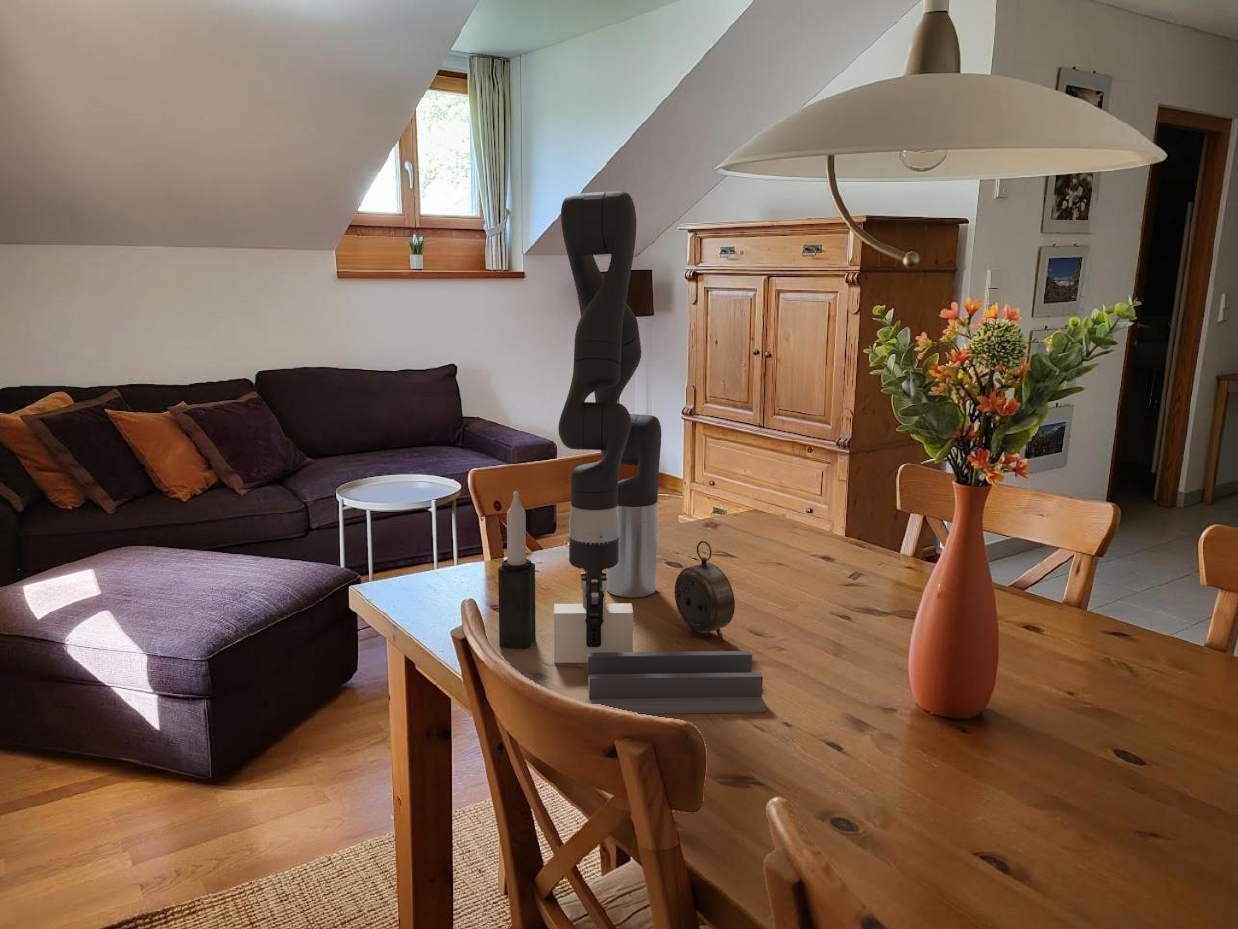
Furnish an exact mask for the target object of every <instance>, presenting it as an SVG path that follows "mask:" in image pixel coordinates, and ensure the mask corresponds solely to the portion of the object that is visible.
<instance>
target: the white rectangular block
mask: <svg viewBox="0 0 1238 929" xmlns="http://www.w3.org/2000/svg"><path fill="white" fill-rule="evenodd" d="M553 605H554V606H553V663H555V664H556V663H557V664H558V663H563V664H565V663H567V664H569V663H574V664H575V663H577V664H578V663H588V653H597V652H634V651H633V649H634V648H633V646H634V640H633V639H634V610H633V604H632V603H630V602H629V603H626V602H624V603H622V602H621V603H620V602H619V603H616V602H614V603H605V608H604V609H603V624H601V645H600V646H599V647H588V646H587V645H586V622H585V618H586V609H584V608H583V603H554V604H553ZM590 616H599V613H591V614H590Z"/></svg>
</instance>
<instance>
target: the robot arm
mask: <svg viewBox="0 0 1238 929" xmlns="http://www.w3.org/2000/svg"><path fill="white" fill-rule="evenodd" d="M560 223H561V224H560V225H561V231H562V236H563V242H564V245H565V249H566V253H567V258H568V261H569V264H570V270H571V273H572V274H571V275H572V276H573V282H574V285H575V290H576V294H577V299H578V306H579V312H580V318H579V321H578V323H577V327H576V331H575V333H574V349H573V369H572V377H571V384H570V387H569V390H568V394H567V397H566V399H565V403H564V405H563V409H562V411H561V414H560V418H559V421H558V436H559V438H560V441H561V442H562V444H563V445H564V446H565V447H566V448H568V449H571V450H581V451H582V450H583V451H584V450H587V451H600V453H601V455H602V458H601V459H600V460H597V461H594V462H589V463H584V464H580V465H577V466H575V467H574V468H573V469H572V472H571V477H570V488H571V489H570V492H571V493H570V512H569V517H568V518H569V521H568V522H569V524H568V531H569V532H568V534H569V535H568V545H569V546H568V561H569V563H570V565H571V566H573V567H574V568H577V569H580V570H581V569H583V571H584V572H580V589H581V598H582V604H583V608H584V609H586V618H585V622H586V645H587V646H588V647H599V646H600V645H601V624H603V609H604V608H605V604H606V591H607V592H608V593H609V594H611V595H614V596H616V597H621V598H643V597H647V596H650V595H652V594H654V593H656V586H657V585H656V584H657V546H658V544H657V543H658V542H657V541H658V540H657V538H658V535H657V534H658V496H659V495H658V493H659V481H660V480H659V476H660V460H661V448H662V426H661V422H660V420H659V418H658V417H657V416H655V415H649V414H636V413H630V411H628V409H627V408H626V406H625V405H624V404H622V403H620V402H619V399H620V397H621V395H622V394H623V391H624V390H625V387H627V384H629V381H630V380H631V378H633V375H634V374H635V372H636V370H637V369H638V367H639V364H640V362H641V358H642V344H641V336H640V329H639V323H638V320H637V316H636V315H635V313H634V312H633V310H632V308H630V306H629V305H628V304H627V299H628V293H629V286H630V280H631V274H632V266H633V260H634V253H635V247H636V238H637V213H636V208H635V203H634V200H633V198H632V197H631V195H630V193H629V192H626V191H621V190H620V191H619V190H618V191H617V190H616V191H613V190H612V191H601V192H599V191H597V192H596V191H595V192H582V193H580V192H579V193H573V194H569V195H567V196H565V197H564V199H563V201H562V204H561V208H560ZM596 255H598V256H599V255H610V262H609V266H608V269H607V272H606V274H605V277H604V276H603V274H602V272H601V271H600V268H599V267H598V264H597V261H596V259H595V257H594V256H596ZM592 393H594V399H595V401H593V402H590V401H589V402H588V401H587V402H586V400H587V399H588V397H589V396H590V395H591V394H592ZM621 465H624V466H625V465H626V466H638V472H637V473H636V474H635V475H633V476H630V477H629V478H625V479H621V480H619V476H620V468H621ZM604 570H606V572H603V571H604ZM591 613H599V616H590V614H591Z"/></svg>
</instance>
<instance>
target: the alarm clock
mask: <svg viewBox="0 0 1238 929" xmlns="http://www.w3.org/2000/svg"><path fill="white" fill-rule="evenodd" d="M701 544H705V545H706V546H707V547H708V549H709V556H708V557H706V556H704V557H701V554H700V550H699V547H700V545H701ZM712 551H713V550H712V547H711V544H710V543H708V541H705V540H701V541H699V542H698V543H697V545H696V553H697V556H698V557H699V559H700V561H701V563H698V564H696V565H693V566H689V567H685V568H684V569H682V570H681V571H680V572H679V574H678V576H677V578H675V579H676V580H675V583H674V600H675V605H676V607H677V610H678V613H679V614H680V616H681V619H682V621H684V623H685V624H686V625H687V626H688V627H689V628H690V632H689V634H688V637H689V638H692V637H693V636H694V635H693V634H694V633H695V632H697V633H701V634H702V633H703V634H706V633H710V632H714V631H715V632H716V634H717V636H718V638H719V639H720V643H725V639H724V637H723V633H722V631H721V629H723V628H725V627H727V626H728V625H729V624H730V623H731V621H732V620H733V617H734V614H735V608H736V606H735V605H736V602H735V595H734V590H733V587H732V584H731V582H730V581H729V579H728V577H727V576H726V574H725V572H724V571H723V570H722V569H721V568H719V566H717V565H715V564H713V563H711V562H708V561H709V560H710V559H711V557H712V554H713V552H712Z"/></svg>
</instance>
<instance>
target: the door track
mask: <svg viewBox="0 0 1238 929" xmlns="http://www.w3.org/2000/svg"><path fill="white" fill-rule="evenodd" d="M752 669H753V653H752V651H751V650H715V651H714V650H712V651H711V650H708V651H707V650H704V651H703V650H700V651H699V650H698V651H697V650H696V651H633V652H597V653H588V662H587V685H588V701H589V702H588V703H591V704H601V705H605V706H609V707H613V708H618V709H622V710H627V711H632V712H637V713H646V714H645V715H658V714H660V715H662V714H663V715H666V714H667V715H670V714H672V715H673V714H724V713H725V714H727V713H728V714H731V713H734V714H736V713H737V714H738V713H766V709H767V706H766V703H765V700H764V699H763V684H764V682H763V681H764V679H763V678H764V677H763V674H762V672H760V671H759V672H752Z"/></svg>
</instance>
